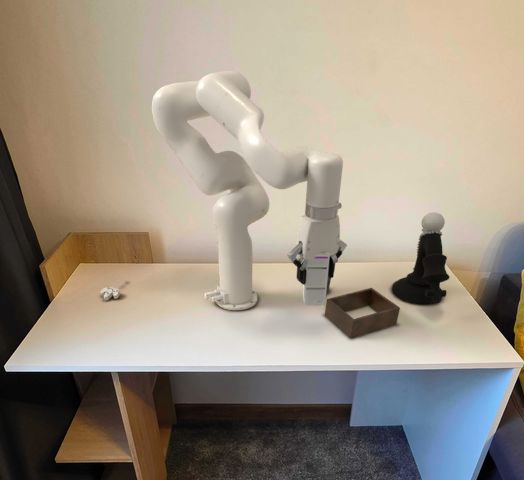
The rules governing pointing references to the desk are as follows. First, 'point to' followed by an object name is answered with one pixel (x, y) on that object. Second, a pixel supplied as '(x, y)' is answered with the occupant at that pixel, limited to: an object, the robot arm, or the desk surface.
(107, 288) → the white flower stem
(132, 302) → the desk surface
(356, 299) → the bin
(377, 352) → the desk surface
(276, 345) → the desk surface
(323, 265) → the syrup box
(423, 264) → the sculpture
